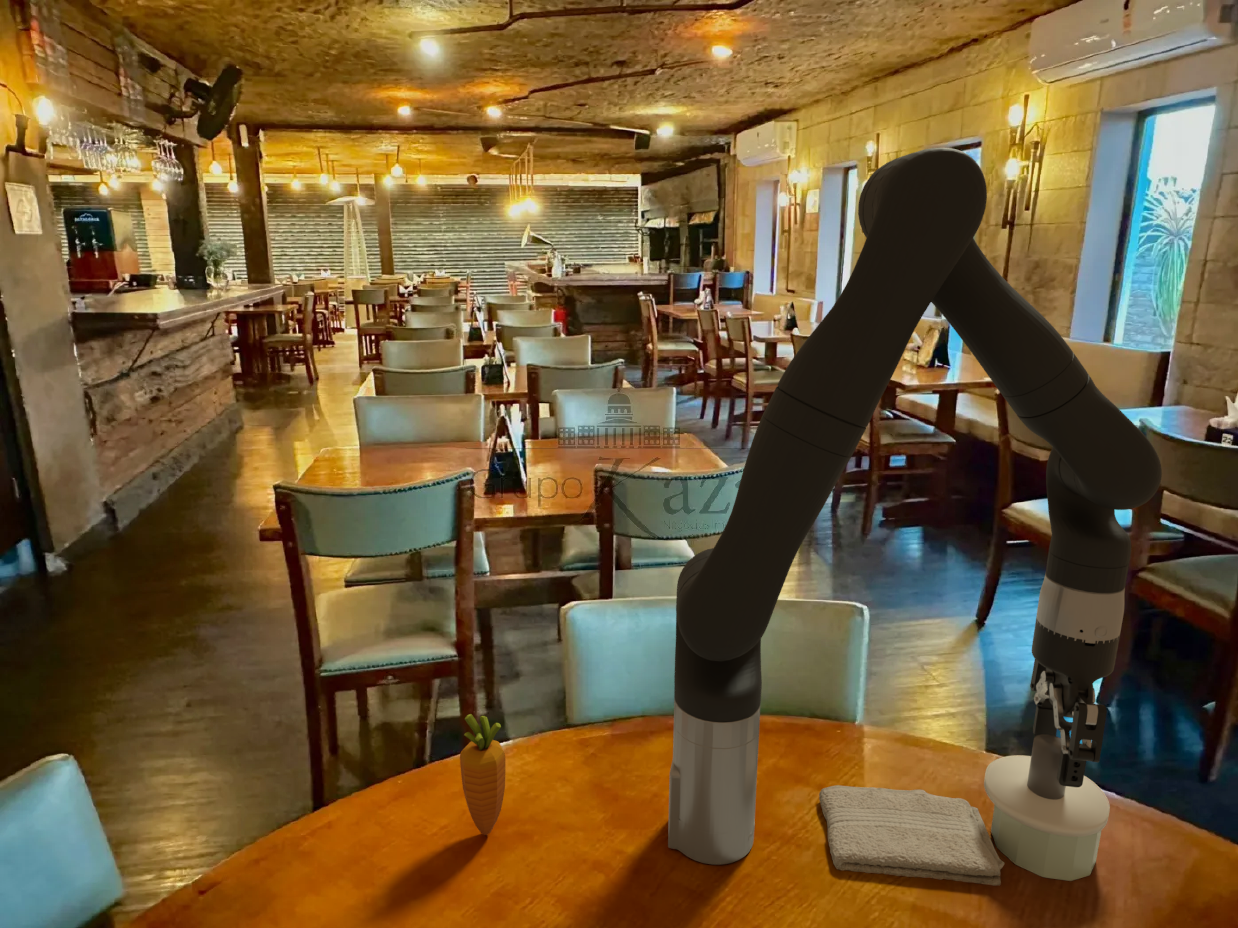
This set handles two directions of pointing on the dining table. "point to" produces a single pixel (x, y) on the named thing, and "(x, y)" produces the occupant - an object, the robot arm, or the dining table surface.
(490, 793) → the carrot
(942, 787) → the dining table surface
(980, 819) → the washcloth
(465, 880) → the dining table surface
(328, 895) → the dining table surface
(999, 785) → the lid
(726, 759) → the robot arm
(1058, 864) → the cup
